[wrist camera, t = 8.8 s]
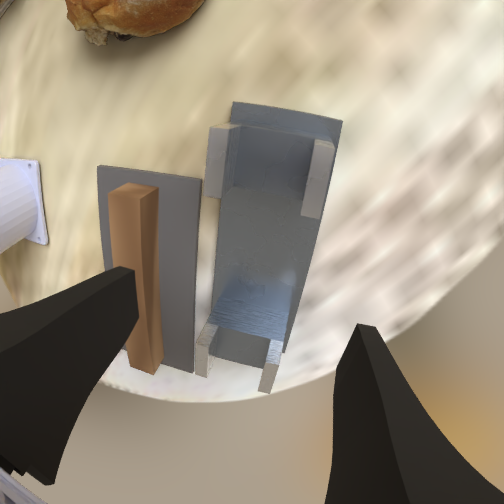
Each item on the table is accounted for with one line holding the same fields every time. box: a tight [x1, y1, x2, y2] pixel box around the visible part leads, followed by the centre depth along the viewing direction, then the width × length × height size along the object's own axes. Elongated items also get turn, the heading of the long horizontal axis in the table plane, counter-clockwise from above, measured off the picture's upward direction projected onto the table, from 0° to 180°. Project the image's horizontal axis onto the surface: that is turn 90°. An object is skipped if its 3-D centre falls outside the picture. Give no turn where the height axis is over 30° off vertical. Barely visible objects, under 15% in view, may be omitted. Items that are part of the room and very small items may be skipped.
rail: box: [108, 182, 164, 375], centre depth 22 cm, size 2×16×2 cm, turn 172°
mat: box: [97, 165, 202, 373], centre depth 23 cm, size 8×18×1 cm, turn 172°
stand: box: [195, 102, 343, 394], centre depth 17 cm, size 6×17×6 cm, turn 172°
